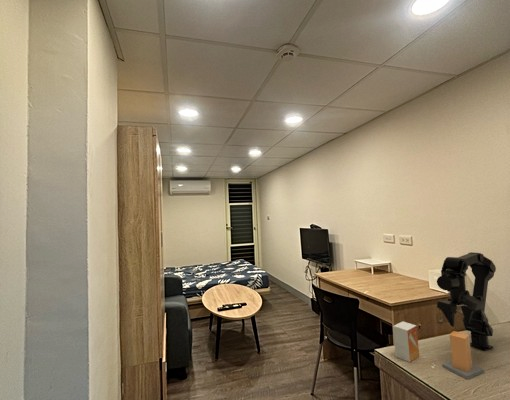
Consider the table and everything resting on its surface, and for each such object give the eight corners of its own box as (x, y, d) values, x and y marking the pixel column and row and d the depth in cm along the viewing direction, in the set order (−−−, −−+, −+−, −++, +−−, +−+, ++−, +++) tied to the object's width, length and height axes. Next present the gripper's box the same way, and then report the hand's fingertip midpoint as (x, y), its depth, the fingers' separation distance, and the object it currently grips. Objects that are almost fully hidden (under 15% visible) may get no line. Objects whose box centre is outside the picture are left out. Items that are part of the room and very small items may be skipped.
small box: (410, 362, 110) (407, 330, 110) (395, 356, 115) (392, 325, 116) (419, 356, 114) (417, 325, 115) (404, 350, 119) (402, 320, 120)
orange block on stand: (456, 361, 107) (453, 330, 107) (472, 366, 103) (468, 334, 103) (452, 366, 103) (449, 334, 104) (468, 371, 100) (465, 338, 100)
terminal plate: (459, 360, 109) (458, 351, 109) (484, 372, 101) (483, 362, 101) (442, 367, 105) (441, 357, 106) (467, 379, 97) (466, 368, 97)
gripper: (461, 293, 104) (464, 335, 102) (493, 289, 109) (497, 329, 108) (434, 287, 114) (437, 325, 113) (465, 284, 120) (468, 319, 119)
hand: (460, 324), depth 113 cm, fingers open, 9 cm apart
